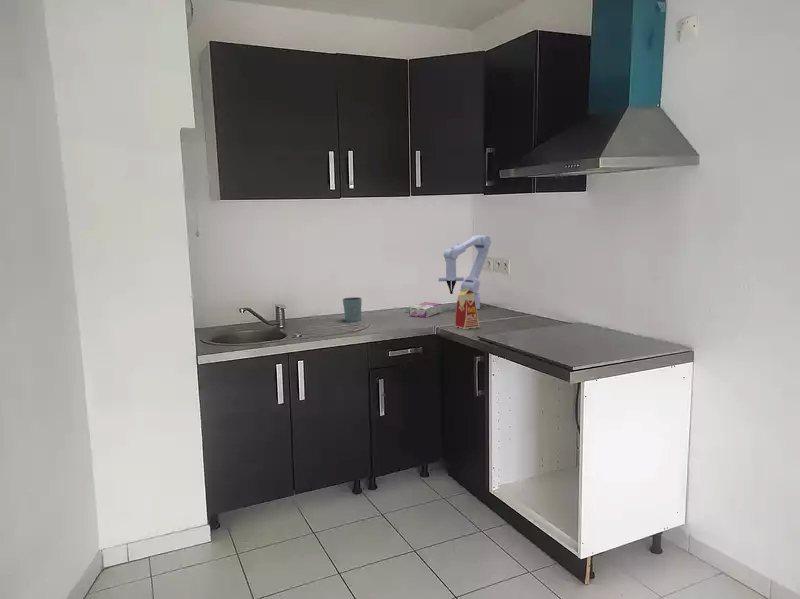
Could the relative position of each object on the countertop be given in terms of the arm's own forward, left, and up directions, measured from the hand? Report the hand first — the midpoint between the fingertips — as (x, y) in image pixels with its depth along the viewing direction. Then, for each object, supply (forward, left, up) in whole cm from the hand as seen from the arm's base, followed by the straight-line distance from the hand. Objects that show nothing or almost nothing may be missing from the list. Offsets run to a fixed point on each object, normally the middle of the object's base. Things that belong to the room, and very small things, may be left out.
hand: (451, 293), depth 336 cm
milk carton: (-7, +48, -10) cm, 50 cm away
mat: (+19, 0, -10) cm, 22 cm away
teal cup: (+53, +27, -10) cm, 60 cm away
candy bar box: (+10, +4, -7) cm, 13 cm away
